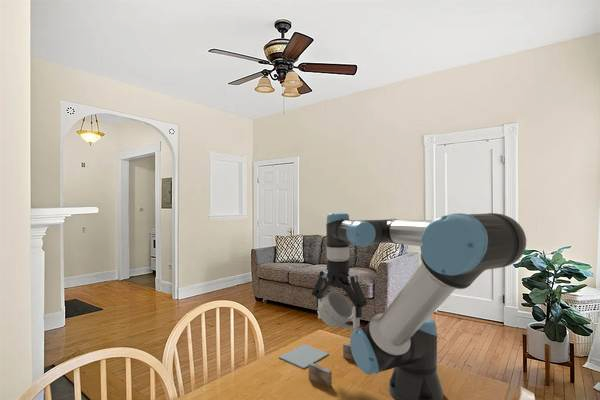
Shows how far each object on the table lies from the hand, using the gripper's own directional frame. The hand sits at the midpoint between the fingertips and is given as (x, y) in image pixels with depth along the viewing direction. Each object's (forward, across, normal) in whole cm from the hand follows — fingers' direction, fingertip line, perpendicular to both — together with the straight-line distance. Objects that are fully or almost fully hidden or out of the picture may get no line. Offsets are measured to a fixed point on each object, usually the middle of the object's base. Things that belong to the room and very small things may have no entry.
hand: (338, 322), depth 113 cm
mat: (+16, +15, 0) cm, 22 cm away
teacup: (0, +3, +1) cm, 3 cm away
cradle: (+16, 0, 0) cm, 16 cm away
